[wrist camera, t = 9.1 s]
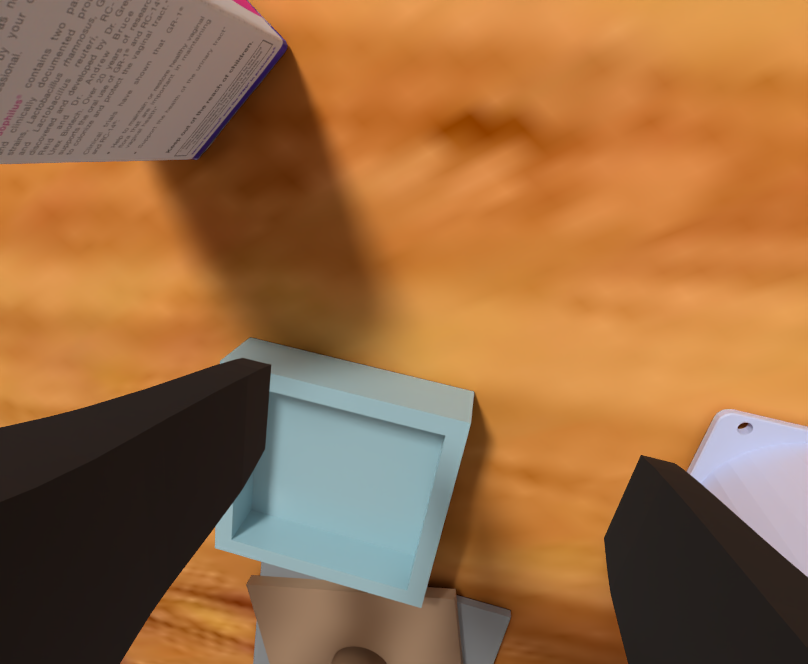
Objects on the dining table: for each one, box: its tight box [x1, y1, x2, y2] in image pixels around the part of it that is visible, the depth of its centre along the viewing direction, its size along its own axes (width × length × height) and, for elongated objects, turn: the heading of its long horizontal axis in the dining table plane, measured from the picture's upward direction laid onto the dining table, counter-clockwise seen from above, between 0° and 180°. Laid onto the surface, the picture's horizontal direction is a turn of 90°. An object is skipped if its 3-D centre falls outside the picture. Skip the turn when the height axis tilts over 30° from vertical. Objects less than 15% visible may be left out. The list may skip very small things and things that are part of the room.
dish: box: [215, 337, 474, 608], centre depth 22 cm, size 10×10×2 cm
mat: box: [253, 562, 511, 664], centre depth 28 cm, size 13×13×1 cm
